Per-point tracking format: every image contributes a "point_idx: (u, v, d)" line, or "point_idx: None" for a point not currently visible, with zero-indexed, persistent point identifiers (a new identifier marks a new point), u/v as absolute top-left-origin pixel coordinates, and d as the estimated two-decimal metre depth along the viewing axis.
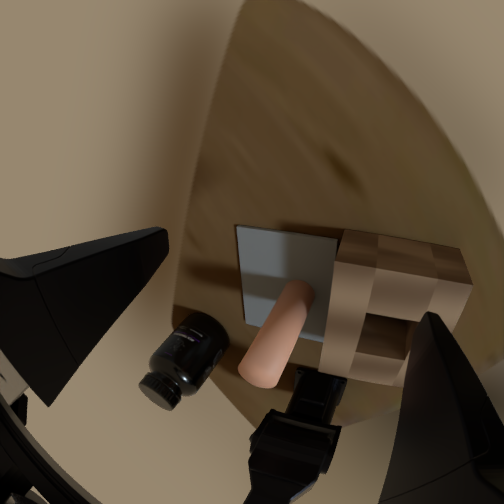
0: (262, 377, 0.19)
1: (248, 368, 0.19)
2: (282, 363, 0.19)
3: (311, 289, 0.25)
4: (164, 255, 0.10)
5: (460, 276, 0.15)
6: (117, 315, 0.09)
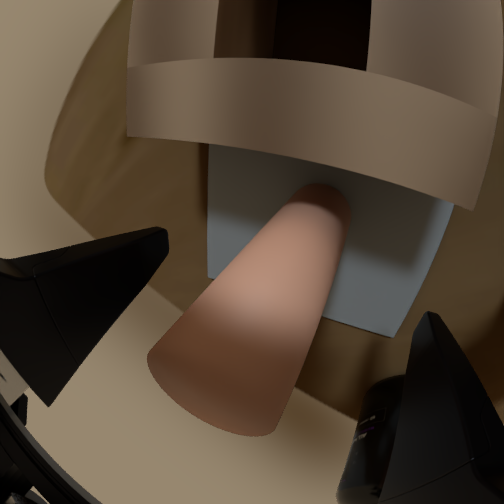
0: (206, 389, 0.05)
1: (185, 399, 0.06)
2: (213, 304, 0.06)
3: (303, 187, 0.12)
4: (164, 255, 0.10)
5: None
6: (117, 316, 0.09)
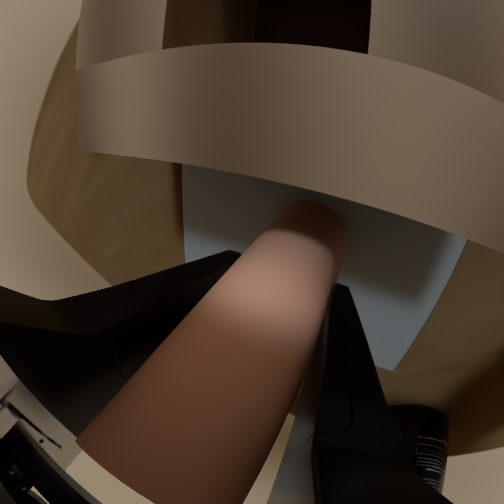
0: None
1: None
2: (140, 399, 0.04)
3: (290, 206, 0.10)
4: None
5: None
6: None
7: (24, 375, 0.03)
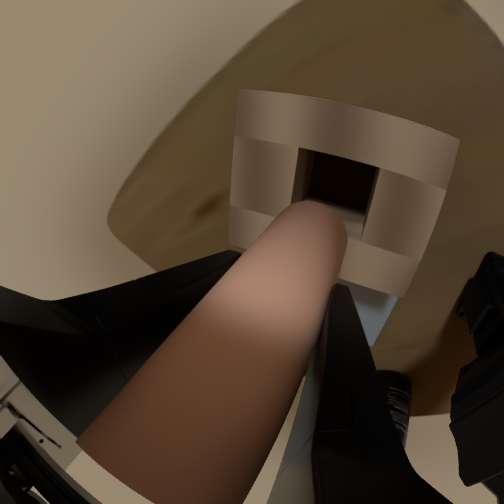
0: None
1: None
2: (140, 400, 0.04)
3: (290, 206, 0.10)
4: None
5: None
6: None
7: (24, 375, 0.03)
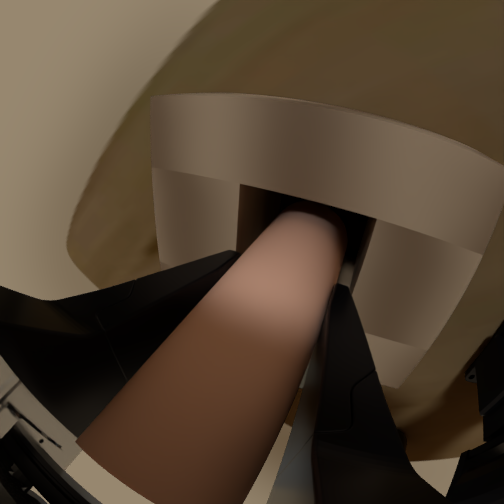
0: None
1: None
2: (140, 400, 0.04)
3: (290, 206, 0.10)
4: None
5: None
6: None
7: (24, 375, 0.03)
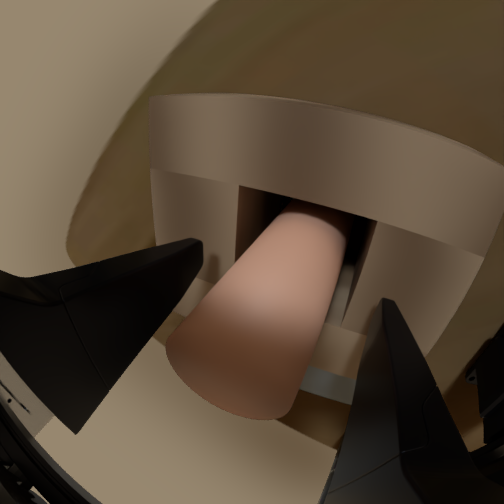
0: (224, 372, 0.05)
1: (201, 384, 0.06)
2: (231, 290, 0.06)
3: None
4: (199, 268, 0.10)
5: None
6: (151, 335, 0.08)
7: None
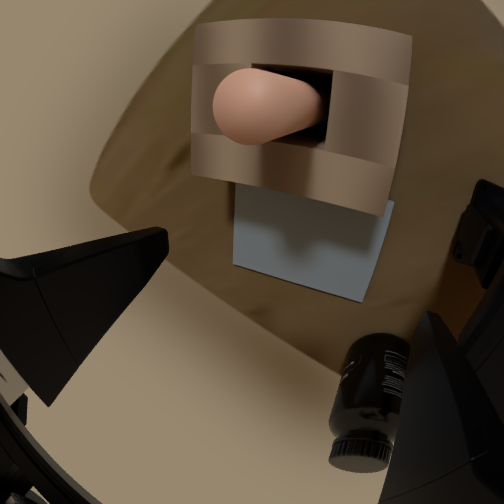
0: (249, 96, 0.09)
1: (232, 121, 0.10)
2: None
3: None
4: (164, 255, 0.10)
5: None
6: (117, 316, 0.09)
7: None
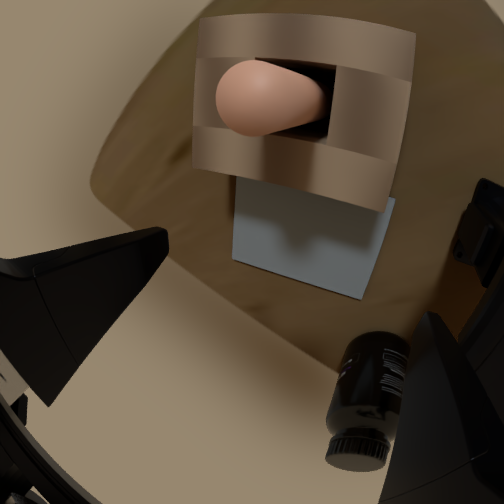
0: (252, 87, 0.09)
1: (235, 112, 0.10)
2: None
3: None
4: (164, 255, 0.10)
5: None
6: (117, 315, 0.09)
7: None
